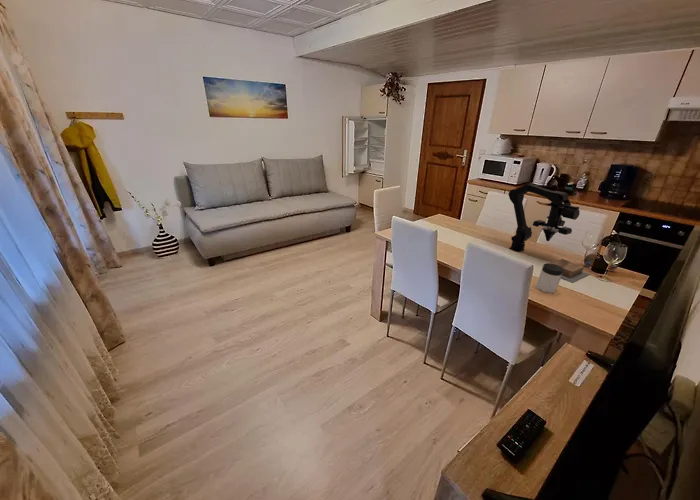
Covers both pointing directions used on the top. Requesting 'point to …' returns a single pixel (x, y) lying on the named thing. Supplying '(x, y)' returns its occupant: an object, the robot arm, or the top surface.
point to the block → (569, 268)
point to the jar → (549, 277)
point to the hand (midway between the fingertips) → (547, 241)
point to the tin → (590, 259)
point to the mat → (575, 277)
